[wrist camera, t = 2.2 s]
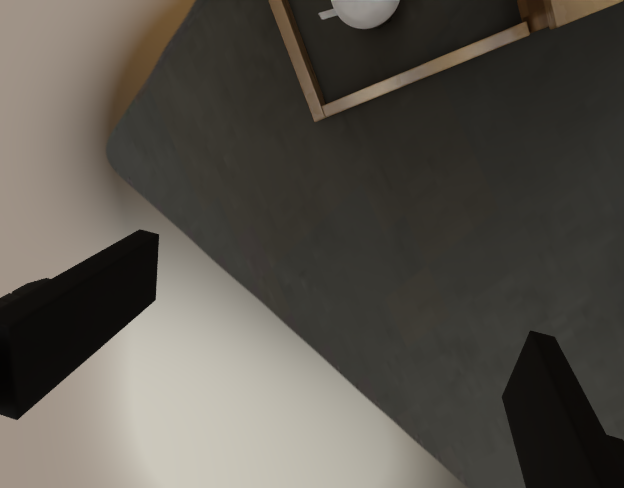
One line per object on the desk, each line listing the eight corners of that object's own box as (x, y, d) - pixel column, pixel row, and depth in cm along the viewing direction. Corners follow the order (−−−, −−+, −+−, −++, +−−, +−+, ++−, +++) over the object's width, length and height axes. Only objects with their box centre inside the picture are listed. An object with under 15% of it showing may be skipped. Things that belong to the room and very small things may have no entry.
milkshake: (328, 5, 37) (299, -18, 28) (385, -40, 35) (375, -81, 26) (357, 55, 38) (338, 49, 28) (415, 14, 36) (415, -7, 27)
